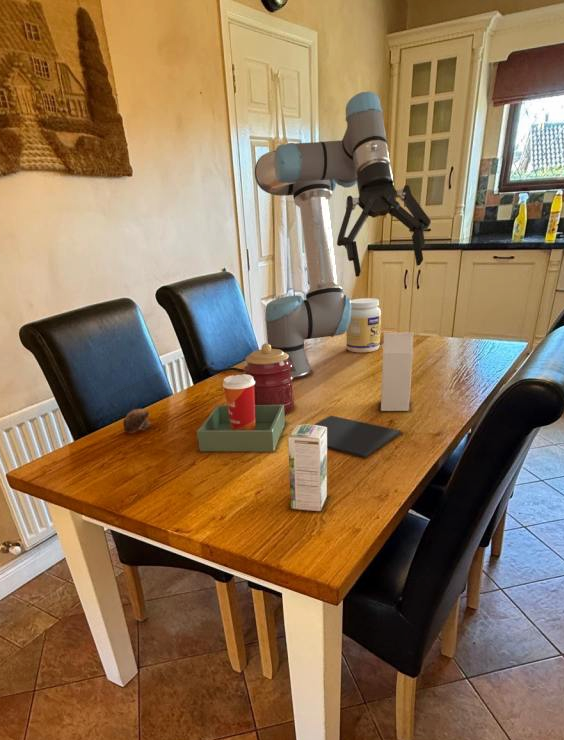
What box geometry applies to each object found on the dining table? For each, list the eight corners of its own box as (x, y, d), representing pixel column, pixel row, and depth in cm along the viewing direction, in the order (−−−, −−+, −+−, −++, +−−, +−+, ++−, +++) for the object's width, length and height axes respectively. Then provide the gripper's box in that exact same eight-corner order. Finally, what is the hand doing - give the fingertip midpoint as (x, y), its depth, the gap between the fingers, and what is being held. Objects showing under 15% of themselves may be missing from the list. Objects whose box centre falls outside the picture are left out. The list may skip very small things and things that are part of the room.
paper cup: (228, 430, 129) (221, 375, 122) (258, 427, 129) (253, 372, 122) (228, 442, 122) (221, 385, 115) (260, 439, 122) (255, 381, 115)
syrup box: (298, 494, 99) (294, 423, 92) (328, 496, 97) (327, 424, 90) (290, 509, 94) (286, 435, 87) (322, 512, 93) (320, 437, 85)
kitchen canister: (301, 403, 144) (298, 338, 135) (282, 419, 134) (278, 350, 125) (260, 399, 149) (254, 337, 140) (239, 415, 139) (231, 348, 130)
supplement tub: (371, 354, 182) (373, 304, 174) (340, 352, 188) (340, 303, 180) (385, 346, 191) (387, 297, 182) (355, 344, 197) (355, 297, 188)
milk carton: (408, 411, 132) (414, 335, 123) (380, 411, 134) (383, 336, 124) (408, 402, 138) (413, 329, 129) (381, 402, 140) (384, 330, 130)
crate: (199, 451, 120) (196, 431, 118) (219, 423, 135) (216, 405, 132) (273, 451, 117) (272, 431, 114) (285, 422, 132) (284, 404, 129)
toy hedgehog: (161, 414, 134) (143, 398, 131) (149, 436, 130) (130, 419, 127) (145, 424, 139) (127, 408, 136) (132, 445, 135) (113, 430, 132)
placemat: (292, 438, 123) (292, 436, 122) (330, 417, 133) (330, 415, 132) (364, 457, 111) (364, 455, 110) (400, 433, 121) (400, 430, 120)
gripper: (317, 171, 109) (334, 270, 109) (435, 149, 108) (451, 249, 108) (315, 192, 116) (331, 285, 116) (425, 172, 115) (440, 265, 116)
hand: (389, 268), depth 112 cm, fingers open, 13 cm apart
